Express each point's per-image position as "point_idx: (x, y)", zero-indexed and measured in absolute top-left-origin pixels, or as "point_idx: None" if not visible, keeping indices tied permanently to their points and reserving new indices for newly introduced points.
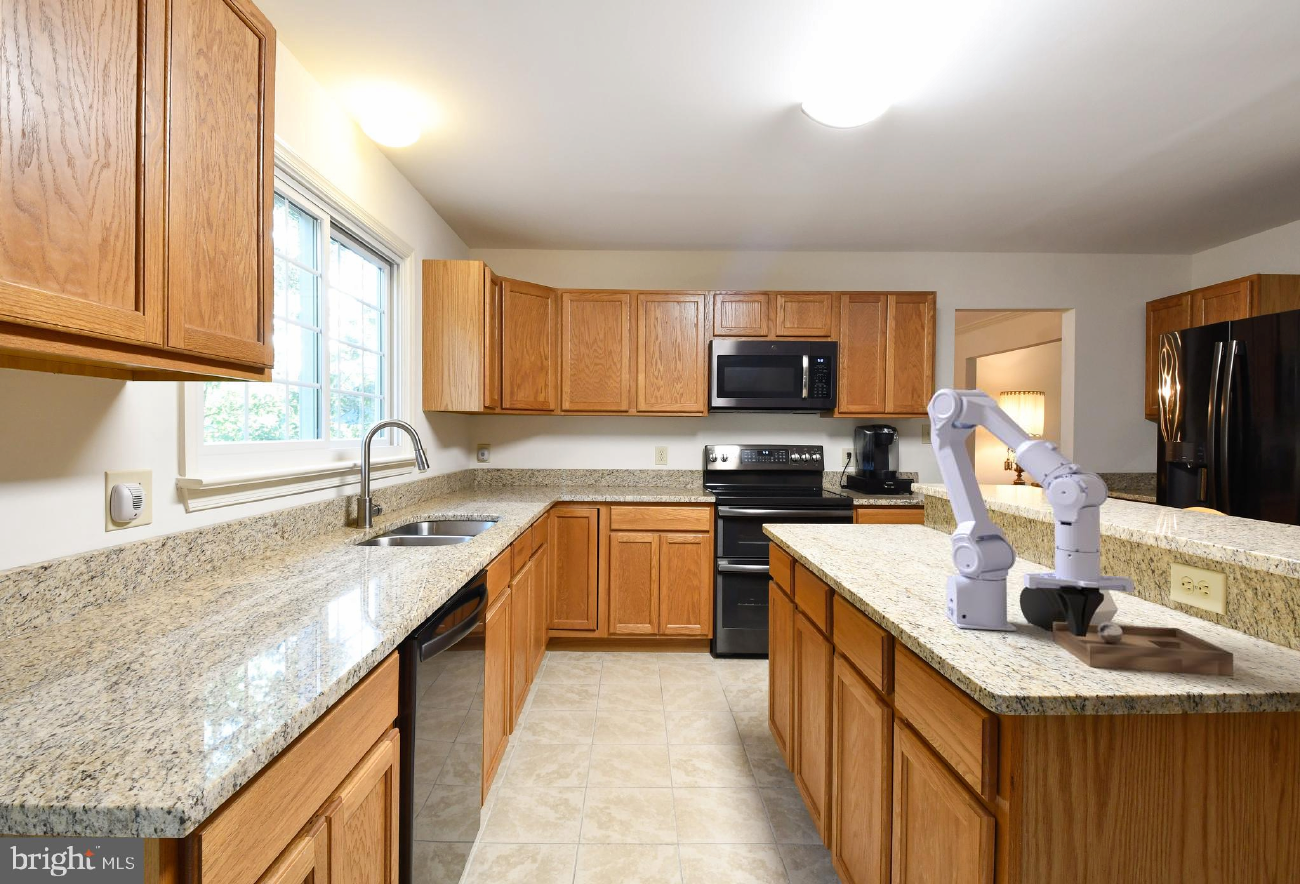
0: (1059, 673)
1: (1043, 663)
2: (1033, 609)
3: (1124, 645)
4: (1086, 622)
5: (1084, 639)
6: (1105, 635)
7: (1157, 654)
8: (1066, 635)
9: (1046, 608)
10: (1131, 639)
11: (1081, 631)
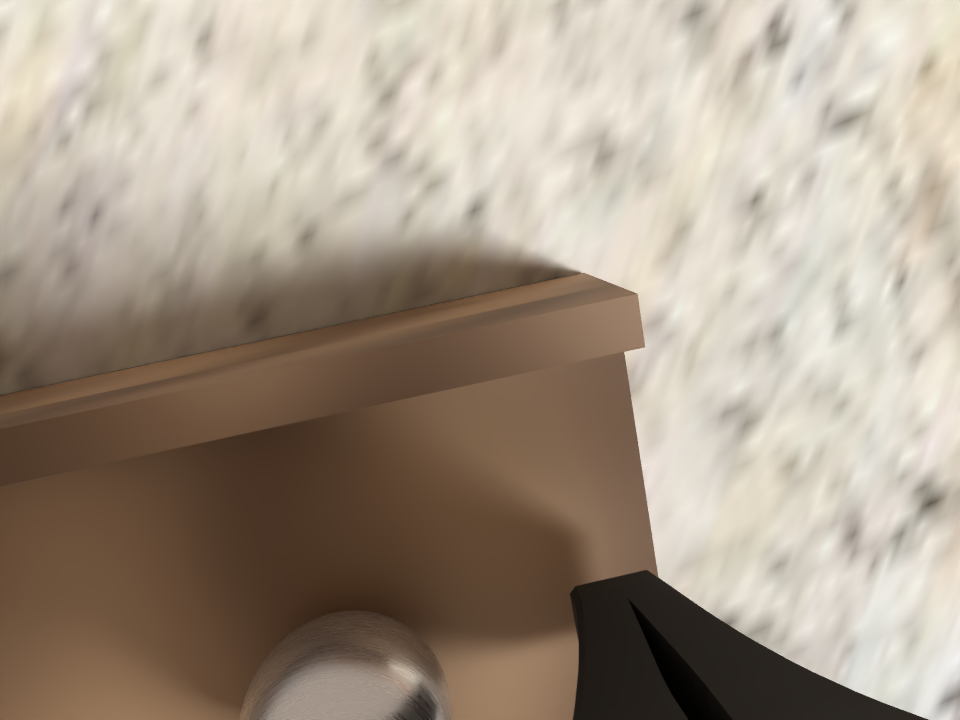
0: (851, 29)
1: (889, 221)
2: None
3: (258, 628)
4: (620, 652)
5: (536, 657)
6: (406, 638)
7: (55, 409)
8: None
9: None
10: None
11: (629, 594)
